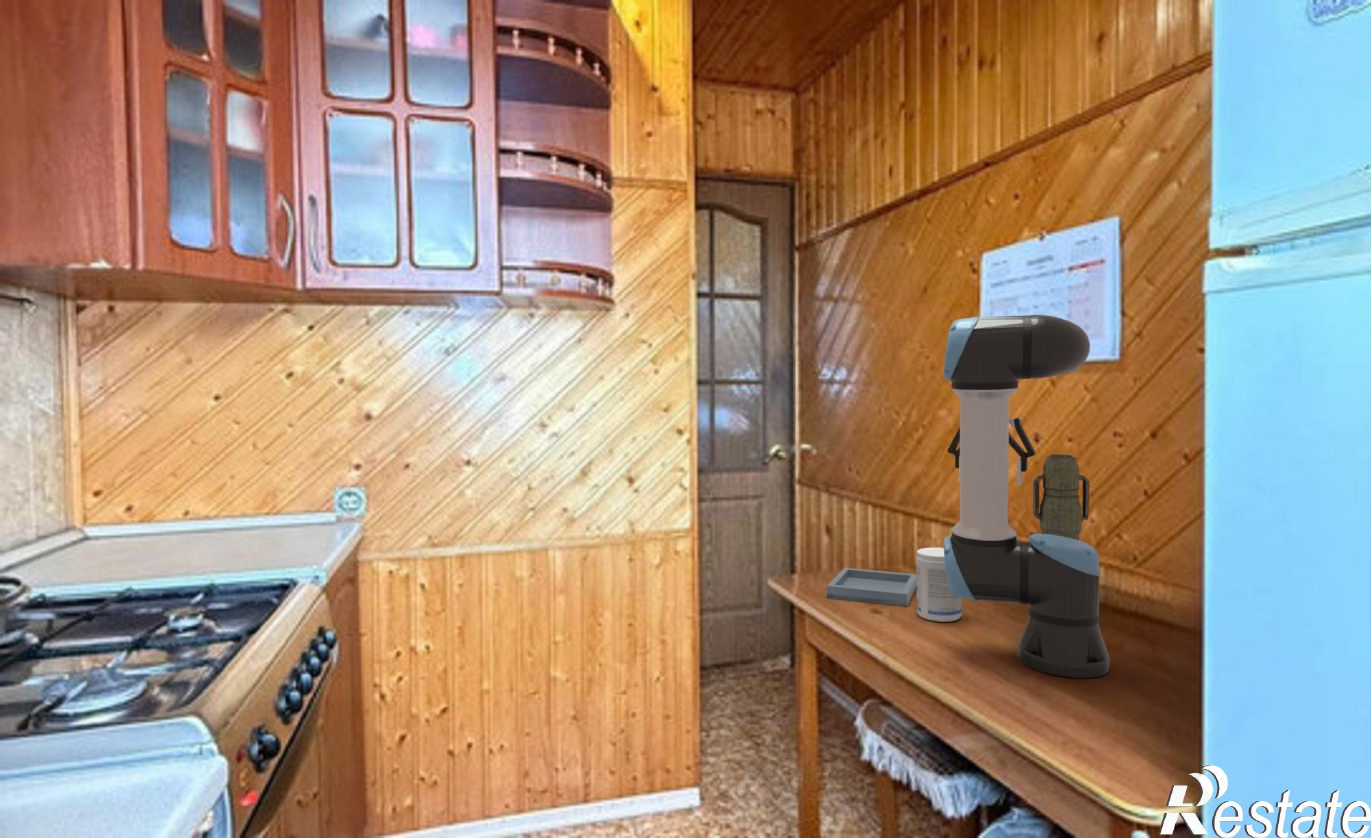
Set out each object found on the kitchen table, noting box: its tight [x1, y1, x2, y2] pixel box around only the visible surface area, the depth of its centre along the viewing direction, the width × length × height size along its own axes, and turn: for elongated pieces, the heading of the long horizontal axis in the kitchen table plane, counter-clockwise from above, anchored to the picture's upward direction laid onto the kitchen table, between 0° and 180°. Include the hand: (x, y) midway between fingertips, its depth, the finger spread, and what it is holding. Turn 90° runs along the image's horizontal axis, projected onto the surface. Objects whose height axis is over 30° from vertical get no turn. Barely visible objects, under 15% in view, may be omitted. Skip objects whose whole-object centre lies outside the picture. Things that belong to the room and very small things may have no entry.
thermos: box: [1032, 454, 1090, 541], centre depth 174 cm, size 9×12×35 cm
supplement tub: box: [915, 547, 963, 623], centre depth 166 cm, size 10×10×15 cm
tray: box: [826, 567, 917, 607], centre depth 186 cm, size 19×19×3 cm
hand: (990, 483), depth 184 cm, fingers open, 13 cm apart
